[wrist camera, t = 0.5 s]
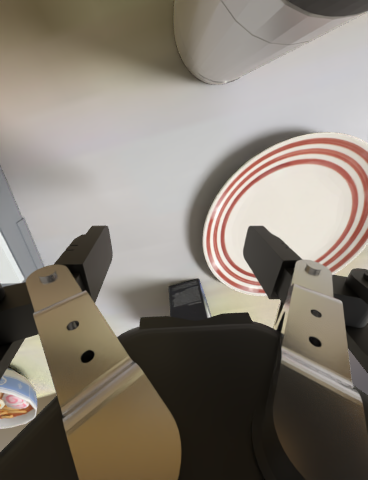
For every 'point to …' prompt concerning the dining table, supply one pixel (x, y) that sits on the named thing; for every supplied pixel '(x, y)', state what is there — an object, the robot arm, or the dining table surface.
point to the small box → (188, 301)
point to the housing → (17, 233)
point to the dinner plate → (292, 206)
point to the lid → (8, 265)
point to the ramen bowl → (16, 400)
